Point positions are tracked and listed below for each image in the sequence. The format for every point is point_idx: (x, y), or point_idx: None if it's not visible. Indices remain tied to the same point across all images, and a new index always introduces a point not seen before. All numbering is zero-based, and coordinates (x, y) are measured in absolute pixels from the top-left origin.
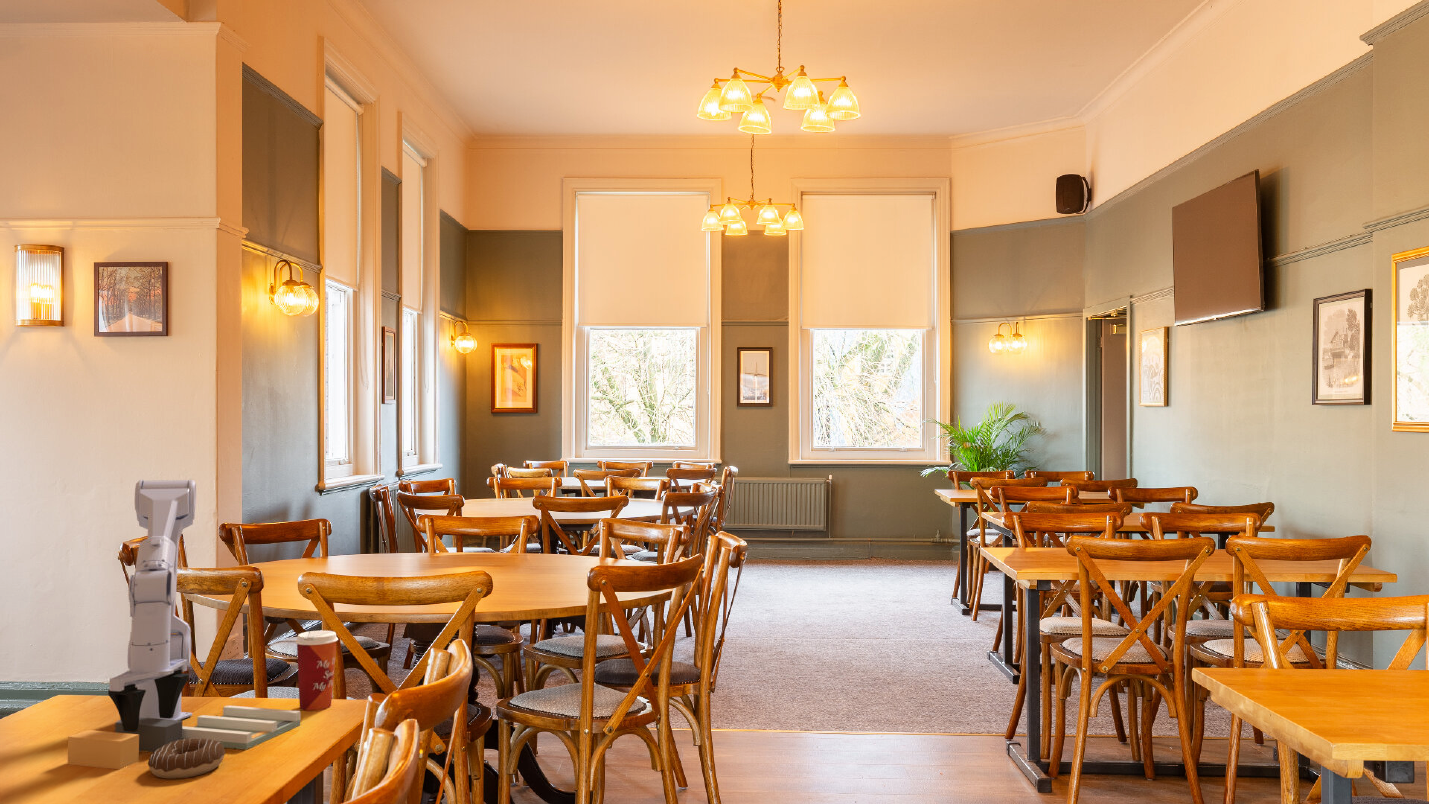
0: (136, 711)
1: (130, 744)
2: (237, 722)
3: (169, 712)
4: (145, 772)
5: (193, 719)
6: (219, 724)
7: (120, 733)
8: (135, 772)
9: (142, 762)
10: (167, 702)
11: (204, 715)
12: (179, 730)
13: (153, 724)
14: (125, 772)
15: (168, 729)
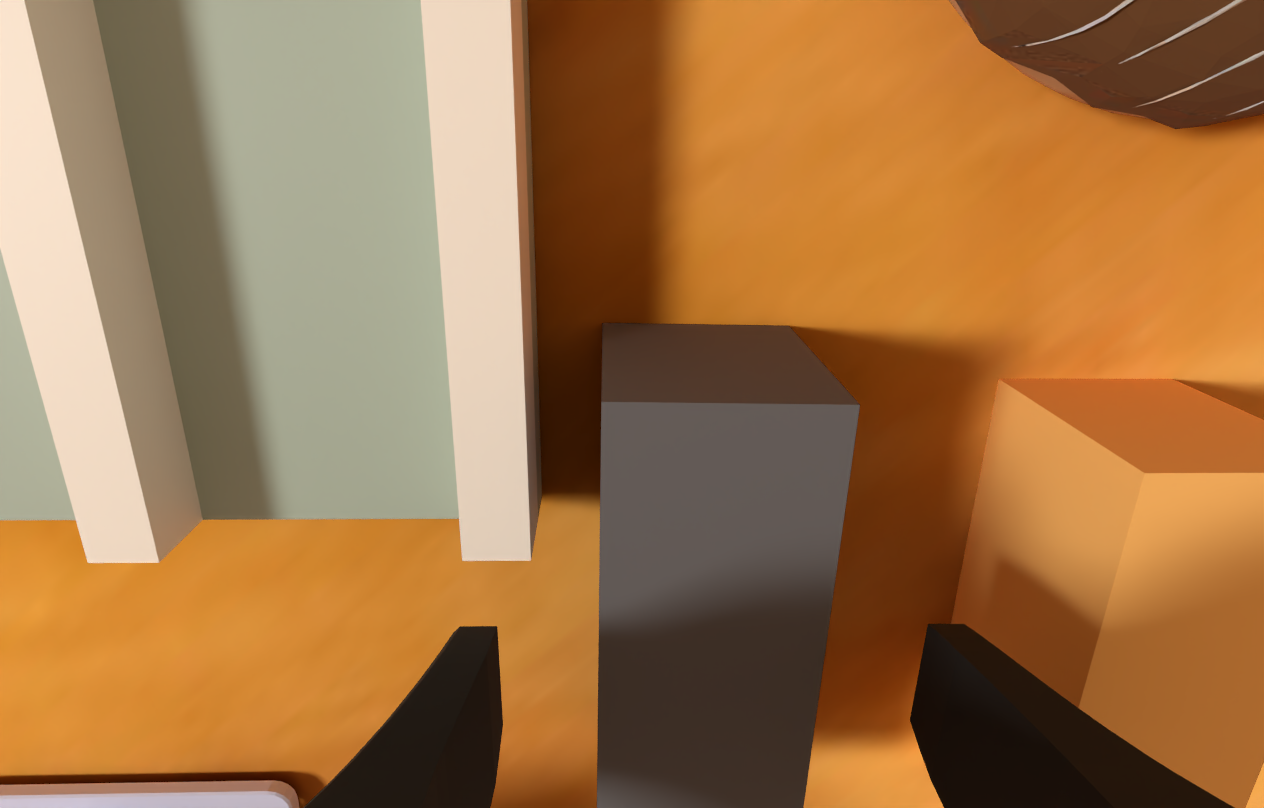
0: (1126, 758)
1: (1205, 443)
2: (49, 41)
3: (486, 677)
4: (1258, 119)
5: (8, 726)
6: (133, 291)
7: (1108, 658)
8: (1253, 205)
9: (1012, 337)
10: (461, 799)
11: (85, 537)
12: (639, 371)
13: (789, 591)
14: (1248, 285)
15: (805, 392)
